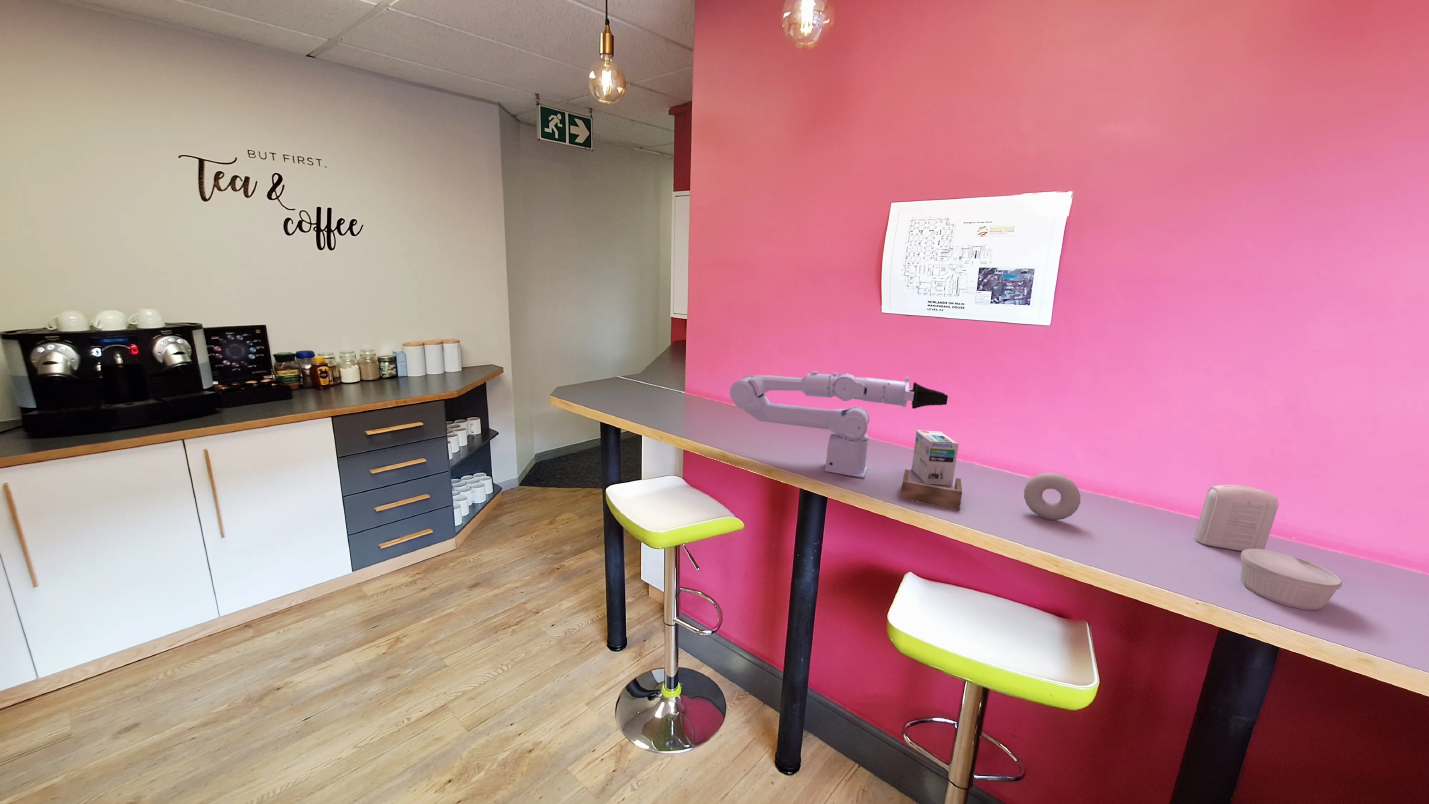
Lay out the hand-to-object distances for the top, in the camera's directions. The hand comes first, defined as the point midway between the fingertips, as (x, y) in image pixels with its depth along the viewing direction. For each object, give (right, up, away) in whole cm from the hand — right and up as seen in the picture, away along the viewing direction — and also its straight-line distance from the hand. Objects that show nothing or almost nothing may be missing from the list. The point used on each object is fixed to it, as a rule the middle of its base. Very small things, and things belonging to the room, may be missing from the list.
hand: (945, 398), depth 124 cm
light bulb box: (0, -20, +9) cm, 22 cm away
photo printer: (+46, -29, -20) cm, 58 cm away
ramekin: (+39, -32, -37) cm, 62 cm away
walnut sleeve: (-5, -22, -3) cm, 23 cm away
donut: (+16, -25, -12) cm, 32 cm away
